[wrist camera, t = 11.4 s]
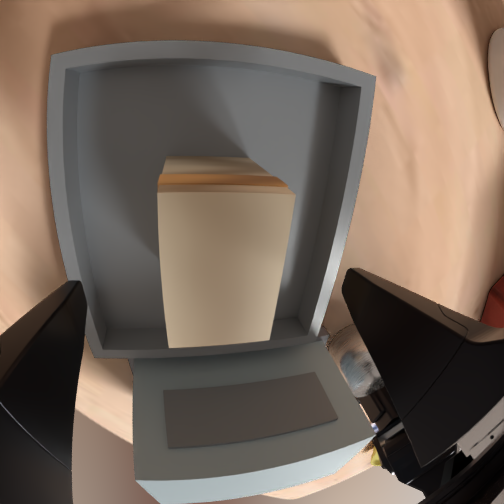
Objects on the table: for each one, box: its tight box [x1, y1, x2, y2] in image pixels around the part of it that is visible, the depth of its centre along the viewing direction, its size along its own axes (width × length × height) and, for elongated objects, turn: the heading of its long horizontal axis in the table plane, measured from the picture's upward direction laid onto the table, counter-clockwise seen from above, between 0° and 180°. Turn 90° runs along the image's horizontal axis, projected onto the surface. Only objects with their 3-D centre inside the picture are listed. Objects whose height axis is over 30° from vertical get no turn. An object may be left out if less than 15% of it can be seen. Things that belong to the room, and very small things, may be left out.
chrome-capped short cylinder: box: [328, 324, 385, 397], centre depth 22 cm, size 4×4×5 cm
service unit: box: [128, 327, 376, 504], centre depth 18 cm, size 15×9×10 cm, turn 84°
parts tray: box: [47, 40, 376, 358], centre depth 14 cm, size 15×17×2 cm
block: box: [157, 156, 296, 348], centre depth 12 cm, size 4×6×6 cm
